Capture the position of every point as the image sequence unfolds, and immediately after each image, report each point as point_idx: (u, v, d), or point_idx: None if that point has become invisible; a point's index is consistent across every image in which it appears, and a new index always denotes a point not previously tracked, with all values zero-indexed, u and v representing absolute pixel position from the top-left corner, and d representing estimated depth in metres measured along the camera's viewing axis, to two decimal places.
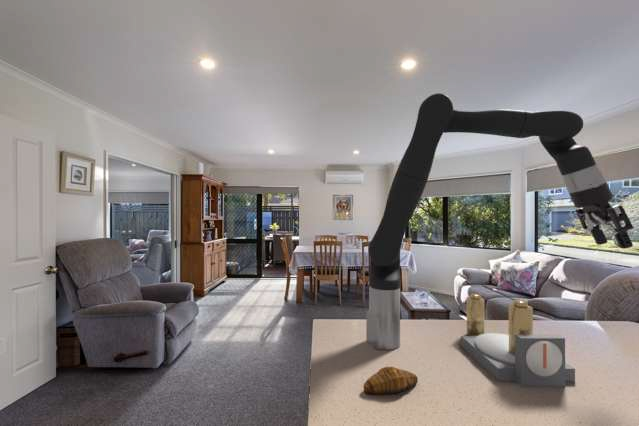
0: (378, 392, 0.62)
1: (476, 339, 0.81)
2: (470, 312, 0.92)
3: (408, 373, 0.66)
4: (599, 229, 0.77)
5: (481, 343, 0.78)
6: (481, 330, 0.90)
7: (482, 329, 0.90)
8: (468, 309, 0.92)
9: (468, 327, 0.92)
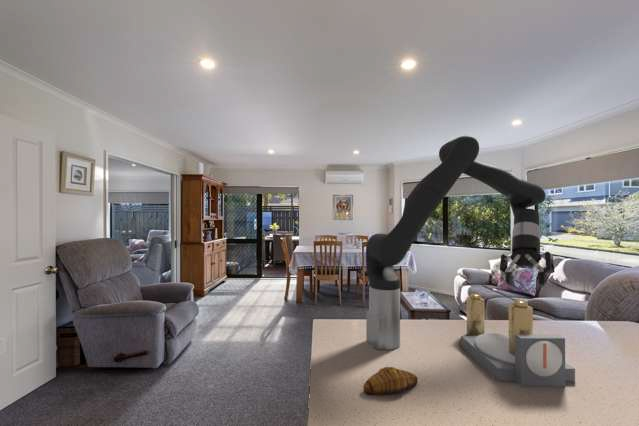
0: (378, 392, 0.62)
1: (476, 339, 0.81)
2: (470, 312, 0.92)
3: (408, 373, 0.66)
4: (511, 274, 0.94)
5: (481, 343, 0.78)
6: (481, 330, 0.90)
7: (482, 329, 0.90)
8: (468, 309, 0.92)
9: (468, 327, 0.92)
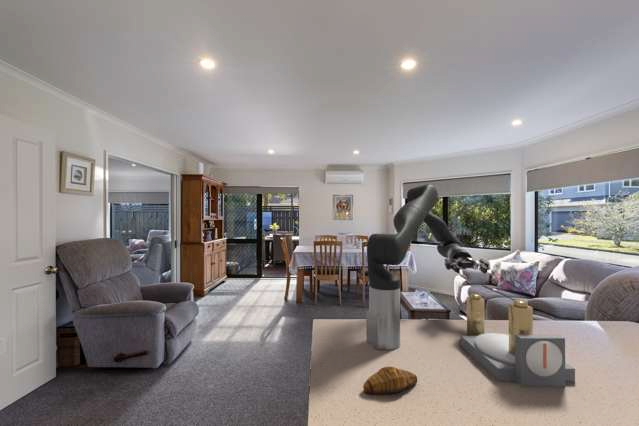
0: (378, 392, 0.62)
1: (476, 339, 0.81)
2: (470, 312, 0.92)
3: (408, 373, 0.66)
4: None
5: (481, 343, 0.78)
6: (481, 330, 0.90)
7: (482, 329, 0.90)
8: (468, 309, 0.92)
9: (468, 327, 0.92)
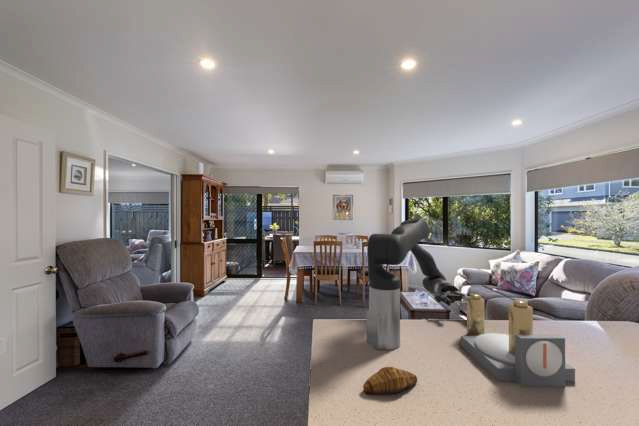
0: (378, 392, 0.62)
1: (476, 339, 0.81)
2: (470, 312, 0.92)
3: (408, 373, 0.66)
4: None
5: (481, 343, 0.78)
6: (481, 330, 0.90)
7: (482, 329, 0.90)
8: (468, 309, 0.92)
9: (468, 327, 0.92)
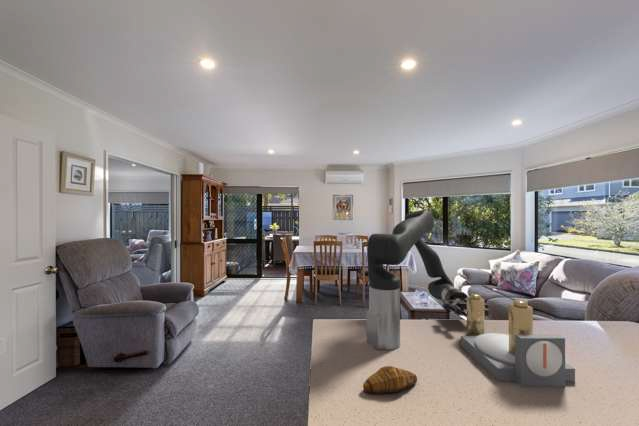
0: (378, 391, 0.62)
1: (476, 339, 0.81)
2: (470, 312, 0.92)
3: (407, 372, 0.66)
4: None
5: (481, 343, 0.78)
6: (481, 330, 0.90)
7: (482, 329, 0.90)
8: (468, 309, 0.92)
9: (468, 327, 0.92)
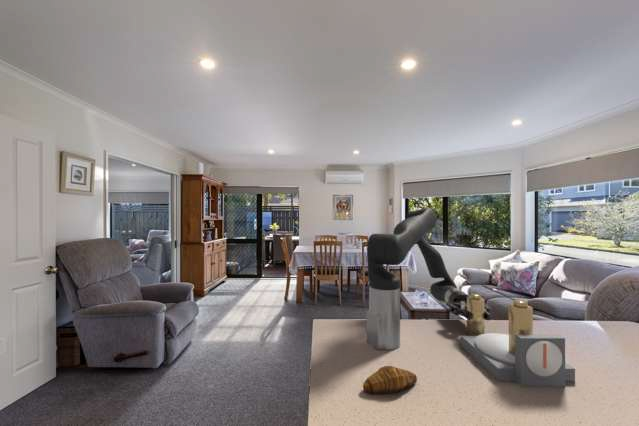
0: (377, 391, 0.62)
1: (476, 339, 0.81)
2: (470, 312, 0.92)
3: (407, 372, 0.66)
4: None
5: (481, 343, 0.78)
6: (481, 330, 0.90)
7: (482, 329, 0.90)
8: (468, 309, 0.92)
9: (468, 327, 0.92)
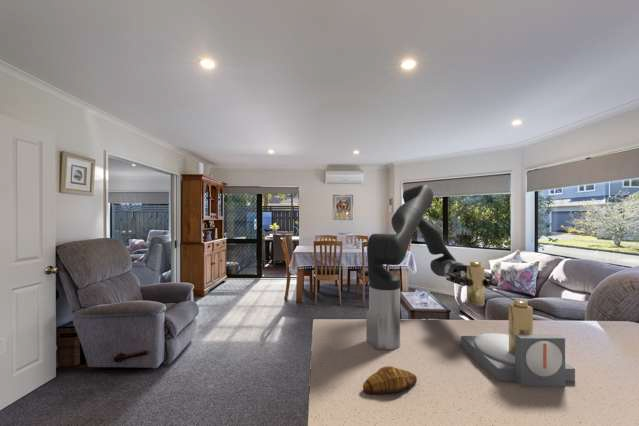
0: (377, 392, 0.62)
1: (476, 339, 0.81)
2: (470, 279, 0.91)
3: (407, 373, 0.66)
4: None
5: (481, 343, 0.78)
6: (480, 297, 0.90)
7: (482, 296, 0.90)
8: (468, 276, 0.92)
9: (468, 294, 0.92)
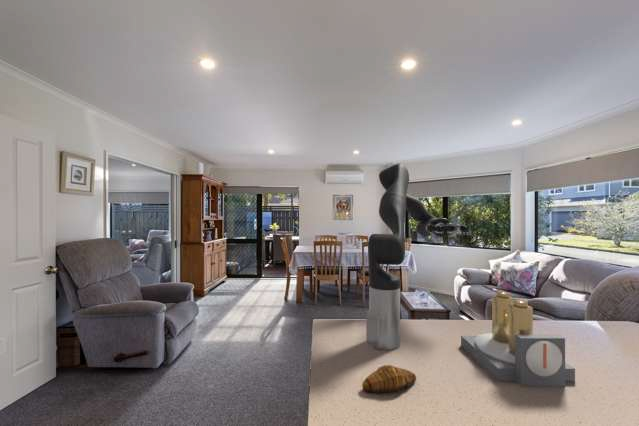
0: (377, 390, 0.63)
1: (476, 339, 0.81)
2: (497, 312, 0.80)
3: (406, 371, 0.66)
4: None
5: (481, 343, 0.78)
6: None
7: None
8: (494, 309, 0.80)
9: (494, 330, 0.80)
